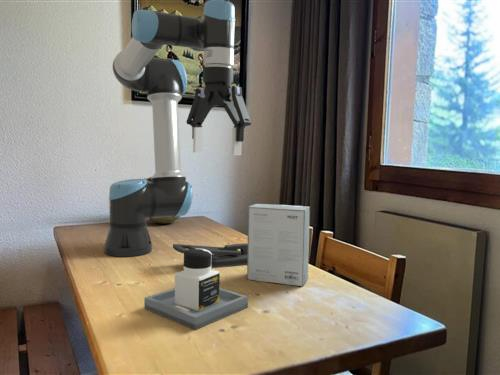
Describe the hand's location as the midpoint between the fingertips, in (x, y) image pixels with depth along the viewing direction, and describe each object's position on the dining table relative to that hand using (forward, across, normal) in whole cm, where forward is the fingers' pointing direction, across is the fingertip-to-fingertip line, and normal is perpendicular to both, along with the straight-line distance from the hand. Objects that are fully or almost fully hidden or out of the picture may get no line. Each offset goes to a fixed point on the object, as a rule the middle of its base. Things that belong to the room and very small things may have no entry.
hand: (216, 154), depth 111 cm
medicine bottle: (+32, +10, -15) cm, 37 cm away
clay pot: (+35, -72, +41) cm, 90 cm away
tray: (+33, +10, -15) cm, 38 cm away
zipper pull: (+34, -12, +12) cm, 38 cm away
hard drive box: (+34, +10, +14) cm, 38 cm away
